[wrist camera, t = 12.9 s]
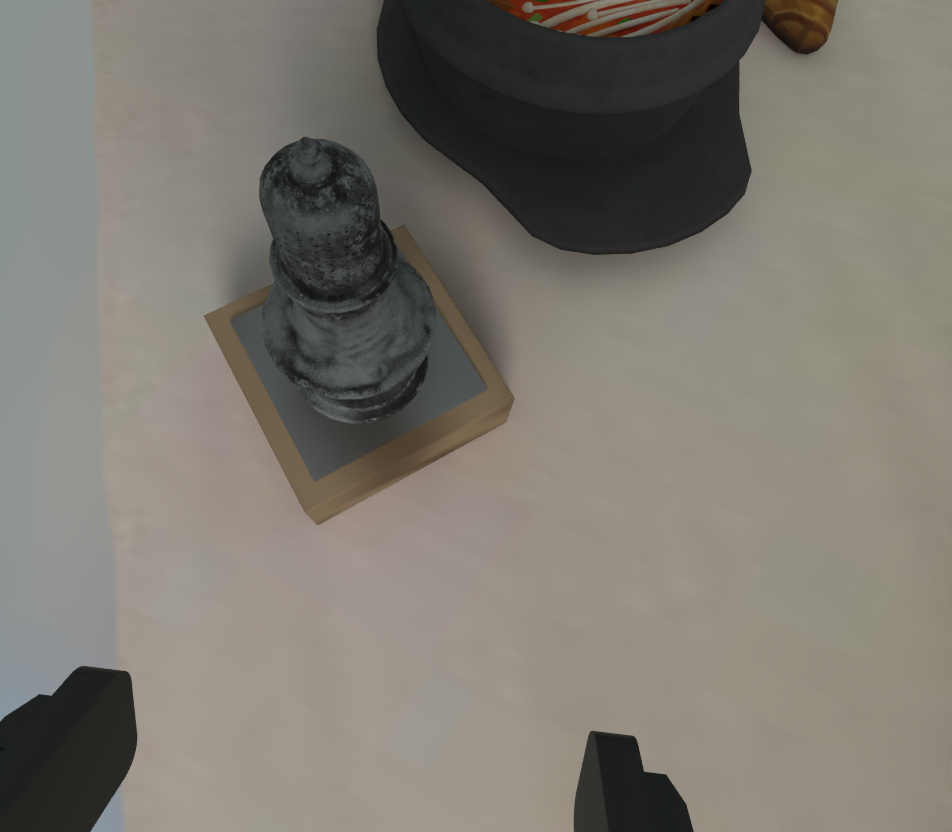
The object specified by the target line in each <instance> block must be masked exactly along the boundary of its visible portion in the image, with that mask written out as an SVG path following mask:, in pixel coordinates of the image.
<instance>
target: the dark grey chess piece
mask: <svg viewBox="0 0 952 832" xmlns="http://www.w3.org/2000/svg"><path fill="white" fill-rule="evenodd" d="M259 197H260V202H261V206H262V210H263V213H264V215H265V218H266V221H267V223H268V226H269V228H270V231H271V233H272V236H273V238H274V239H273V242H272V244H271V247H270V265H271V269H272V273H273V277H274V278H275V280H276V281H275V282H274V284H273V285H272V286H271V288H270V290H269V293H268V295H267V298H266V301H265V303H264V306H263V312H262V326H261V329H262V333H263V338H264V342H265V346H266V349H267V351H268V353H269V355H270V356H271V358H272V360H273V362H274V363H275V365H276V367H277V368H278V369H279V370H280V371H281V372H282V373H283V374H284V375H285V376H286V377H287V378H288V379H289V380H290V381H291V382H292V383H293V384H295V385H296V386H297V388H298V390H299V391H300V393H301V395H302V397H303V398H304V400H306V401H307V402H308V403H309V404H310V405H311V406H312V407H313V408H314V409H315V410H316V411H318V412H319V413H321V414H323V415H325V416H327V417H329V418H331V419H333V420H337V421H341V422H346V423H371V422H375V421H378V420H382V419H386V418H388V417H390V416H391V415H393V414H395V413H397V412H399V411H400V410H402V409H403V408H404V407H405V406H406V405H407V404H408V403H409V402H410V401H412V400H413V399H414V398H415V396H416V394H417V393H418V391H419V390H420V388H421V386H422V385H423V383H424V379H425V376H426V372H427V368H428V352H429V351H430V349H431V346H432V342H433V338H434V335H435V331H436V306H435V303H434V300H433V297H432V294H431V291H430V288H429V286H428V285H427V283H426V282H425V280H424V279H423V278H422V276H421V275H420V273H419V272H418V271H417V270H416V269H415V268H414V267H413V266H412V265H410V264H409V263H408V262H407V261H406V260H405V259H404V258H402V257H400V256H398V249H397V246H396V243H395V240H394V237H393V234H392V233H391V231H390V230H389V229H388V227H387V226H386V224H385V223H384V222H383V221H382V220H381V219H380V212H379V203H378V195H377V188H376V185H375V182H374V179H373V176H372V174H371V172H370V170H369V168H368V167H367V165H366V164H365V162H364V161H363V159H362V158H360V157H359V156H358V155H357V154H356V153H354V152H353V151H352V150H350V149H348V148H346V147H344V146H342V145H340V144H338V143H336V142H332V141H328V140H324V139H311V138H308V137H303V138H302V139H300V140H299V141H296V142H294V143H291V144H289V145H287V146H285V147H284V148H282V149H281V150H280V151H278V152H277V153H276V154H275V155H274V156H273V157H272V158H271V159H270V161H269V162H268V163H267V164H266V166H265V167H264V170H263V172H262V175H261V177H260V187H259Z"/></svg>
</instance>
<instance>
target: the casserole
mask: <svg viewBox="0 0 952 832" xmlns="http://www.w3.org/2000/svg"><path fill="white" fill-rule="evenodd" d="M764 7H765V0H384V3H383V7H382V11H381V15H380V19H379V23H378V27H377V49H378V61H379V64H380V67H381V71H382V74H383V78H384V81H385V85H386V87H387V89H388V91H389V93H390V95H391V96H392V98H393V100H394V102H395V103H396V105H397V107H398V109H399V110H400V112H401V114H402V115H403V116H404V117H405V119H406V120H407V121H408V122H409V123H410V124H411V125H412V127H413V128H414V129H415V130H416V131H417V132H418V133H419V134H420V136H421V137H422V138H423V139H424V140H425V141H426V142H428V143H429V144H430V145H432V146H433V147H434V148H436V149H437V150H438V151H440V152H441V153H442V154H444V155H445V156H446V157H448V158H449V159H450V160H452V161H453V162H454V163H456V164H457V165H458V166H460V167H461V168H462V169H464V170H465V171H466V172H468V173H469V174H470V175H472V176H473V177H474V178H476V179H477V180H478V181H480V182H481V183H482V184H483V185H484V186H485V187H486V188H487V189H488V190H489V191H490V192H491V193H492V194H493V195H494V196H495V197H496V198H497V199H498V200H499V202H500V203H501V204H502V205H503V206H504V207H505V208H506V209H507V210H508V211H509V212H510V213H511V214H512V215H513V216H514V217H515V218H516V220H517V221H518V222H519V223H520V224H521V225H522V226H523V227H524V228H525V229H526V230H527V231H528V232H529V233H530V234H531V235H532V236H533V237H535V238H538V239H540V240H542V241H544V242H546V243H548V244H550V245H552V246H554V247H556V248H559V249H561V250H567V251H573V252H580V253H586V254H593V255H600V254H630V253H636V252H641V251H646V250H651V249H655V248H660V247H665V246H669V245H672V244H674V243H676V242H679V241H681V240H683V239H686V238H688V237H690V236H693V235H695V234H697V233H700V232H702V231H703V230H705V229H706V228H708V227H709V226H711V225H712V224H713V223H715V222H716V221H718V220H719V219H721V218H722V217H724V216H725V215H727V214H728V213H729V212H730V210H731V209H732V208H733V207H734V206H735V205H736V203H737V202H738V201H739V200H740V199H741V198H742V197H743V195H744V194H745V191H746V188H747V184H748V181H749V178H750V174H751V166H750V162H749V157H748V152H747V148H746V143H745V138H744V134H743V129H742V124H741V120H740V115H739V60H740V59H741V58H742V57H743V56H744V55H745V53H746V51H747V50H748V48H749V46H750V44H751V43H752V41H753V39H754V38H755V36H756V34H757V32H758V31H759V27H760V23H761V19H762V15H763V11H764Z"/></svg>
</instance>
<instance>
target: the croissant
mask: <svg viewBox="0 0 952 832" xmlns="http://www.w3.org/2000/svg"><path fill="white" fill-rule="evenodd" d="M837 3H838V0H765V7H764V11H763V15H762V20H763V21H764V22H765V24H766V25H767V26H768V27H769V28H770V29H771V30H772V31H773V33H774V34H775V35H776V36H777V37H778V38H779V39H780V40H781V41H783V42H784V43H785V44H786V45H788V46H789V47H790V48H791V49H792V50H794V51H795V52H796V53H801V54H809V53H812V52H815V51H817V50H818V49H819V48H820V47H821V46H823V45H824V44H825V43H826V41H827V39H828V36H829V34H830V31H831V28H832V24H833V20H834V15H835V11H836V7H837Z"/></svg>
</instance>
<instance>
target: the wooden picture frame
mask: <svg viewBox="0 0 952 832" xmlns="http://www.w3.org/2000/svg"><path fill="white" fill-rule="evenodd" d="M391 233H392V234H393V237H394V240H395V243H396V246H397V249H398V256H400V257H402V258H404V259H405V260H406V261H407V262H408V263H409V264H410V265H412V266H413V267H414V268H415V269H416V270H417V271H418V272H419V273H420V275H421V276H422V278H423V279H424V280H425V282H426V283H427V285H428V286H429V288H430V291H431V294H432V297H433V300H434V303H435V306H436V331H435V335H434V338H433V342H432V346H431V349H430V351H429V352H428V368H427V372H426V376H425V379H424V383H423V385H422V386H421V388H420V390H419V391H418V393H417V394H416V396H415V398H414V399H413V400H412V401H410V402H409V403H408V404H407V405H406V406H405V407H404V408H403V409H402V410H400V411H399V412H397V413H395V414H393V415H391V416H390V417H388V418H386V419H382V420H378V421H375V422H371V423H346V422H341V421H337V420H333V419H331V418H329V417H327V416H325V415H323V414H321V413H319V412H318V411H316V410H315V409H314V408H313V407H312V406H311V405H310V404H309V403H308V402H307V401H306V400H304V398H303V397H302V395H301V393H300V391H299V390H298V388H297V386H296V385H295V384H293V383H292V382H291V381H290V380H289V379H288V378H287V377H286V376H285V375H284V374H283V373H282V372H281V371H280V370H279V369H278V368H277V367H276V365H275V363H274V362H273V360H272V358H271V356H270V355H269V353H268V351H267V349H266V346H265V342H264V338H263V333H262V329H261V326H262V312H263V306H264V303H265V301H266V298H267V295H268V293H269V290H270V288H271V286H272V285H273V284H272V285H270V286H268V287H266V288H263V289H261V290H259V291H257V292H255V293H252V294H250V295H248V296H246V297H244V298H241V299H239V300H237V301H235V302H232V303H230V304H228V305H226V306H224V307H221V308H219V309H217V310H215V311H213V312H210V313H208V314H206V315H204V317H205V319H206V321H207V323H208V325H209V327H210V329H211V331H212V333H213V335H214V337H215V339H216V341H217V343H218V345H219V347H220V348H221V350H222V352H223V354H224V356H225V358H226V360H227V362H228V364H229V366H230V368H231V370H232V372H233V374H234V376H235V378H236V380H237V382H238V384H239V385H240V387H241V389H242V391H243V393H244V395H245V397H246V399H247V401H248V403H249V405H250V407H251V409H252V411H253V413H254V415H255V417H256V419H257V420H258V422H259V424H260V426H261V428H262V430H263V432H264V434H265V436H266V438H267V440H268V442H269V444H270V446H271V448H272V450H273V452H274V454H275V455H276V457H277V459H278V461H279V463H280V465H281V467H282V469H283V471H284V473H285V475H286V477H287V479H288V481H289V483H290V485H291V487H292V489H293V491H294V492H295V494H296V496H297V498H298V500H299V502H300V504H301V506H302V508H303V510H304V512H305V513H306V514H307V515H308V516H309V517H310V518H311V519H312V520H313V521H314V522H315V523H316V524H317V525H319V524H321V523H322V522H324V521H326V520H328V519H330V518H332V517H333V516H335V515H337V514H339V513H341V512H343V511H344V510H346V509H348V508H350V507H352V506H353V505H355V504H357V503H359V502H361V501H363V500H364V499H366V498H368V497H370V496H372V495H374V494H375V493H377V492H379V491H381V490H383V489H385V488H386V487H388V486H390V485H392V484H394V483H396V482H397V481H399V480H401V479H403V478H405V477H407V476H408V475H410V474H412V473H414V472H416V471H417V470H419V469H421V468H423V467H425V466H427V465H428V464H430V463H432V462H434V461H436V460H438V459H439V458H441V457H443V456H445V455H447V454H449V453H450V452H452V451H454V450H456V449H458V448H460V447H461V446H463V445H465V444H467V443H469V442H470V441H472V440H474V439H476V438H478V437H480V436H481V435H483V434H485V433H487V432H489V431H491V430H492V429H494V428H496V427H498V426H500V425H502V424H503V423H505V422H506V421H507V418H508V415H509V413H510V410H511V407H512V404H513V401H514V396H513V395H512V393H511V392H510V390H509V389H508V387H507V385H506V384H505V382H504V381H503V379H502V378H501V376H500V374H499V373H498V371H497V370H496V368H495V367H494V365H493V363H492V362H491V360H490V359H489V357H488V356H487V354H486V352H485V351H484V349H483V348H482V346H481V344H480V343H479V341H478V340H477V338H476V337H475V335H474V333H473V332H472V330H471V329H470V327H469V326H468V324H467V322H466V321H465V319H464V318H463V316H462V315H461V313H460V311H459V310H458V308H457V307H456V305H455V304H454V302H453V300H452V299H451V297H450V296H449V294H448V293H447V291H446V289H445V288H444V286H443V285H442V283H441V282H440V280H439V278H438V277H437V275H436V274H435V272H434V271H433V269H432V267H431V266H430V264H429V263H428V261H427V260H426V258H425V256H424V255H423V253H422V252H421V250H420V249H419V247H418V245H417V244H416V242H415V241H414V239H413V238H412V236H411V234H410V233H409V231H408V230H407V228H406V227H405V225H403V226H401V227H398V228H396V229H394V230H392V231H391Z"/></svg>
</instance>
